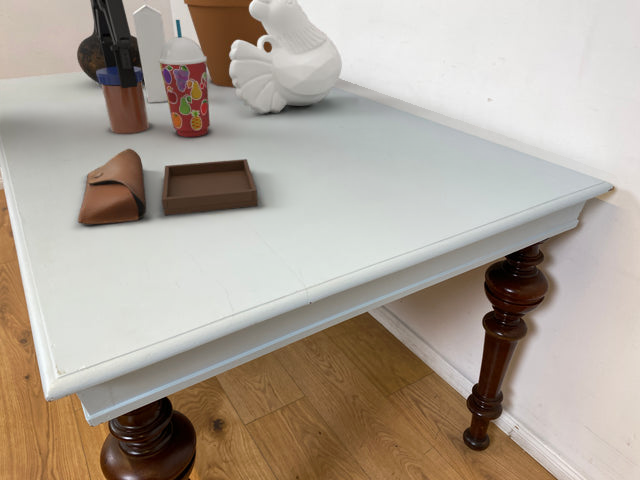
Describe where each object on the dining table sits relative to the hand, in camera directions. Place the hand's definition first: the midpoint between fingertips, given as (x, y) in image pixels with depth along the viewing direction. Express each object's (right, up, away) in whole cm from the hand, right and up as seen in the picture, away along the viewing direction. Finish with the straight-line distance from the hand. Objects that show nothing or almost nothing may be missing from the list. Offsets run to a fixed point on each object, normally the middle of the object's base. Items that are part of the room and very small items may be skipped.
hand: (122, 82), depth 91 cm
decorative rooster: (+30, 0, +19) cm, 35 cm away
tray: (+22, -23, -22) cm, 39 cm away
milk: (-1, +4, +25) cm, 25 cm away
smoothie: (+13, -9, +2) cm, 16 cm away
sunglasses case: (+9, -24, -23) cm, 34 cm away
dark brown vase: (-18, +13, +41) cm, 46 cm away
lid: (0, +2, -1) cm, 2 cm away
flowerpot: (+16, +15, +44) cm, 49 cm away
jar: (0, -8, +4) cm, 9 cm away
